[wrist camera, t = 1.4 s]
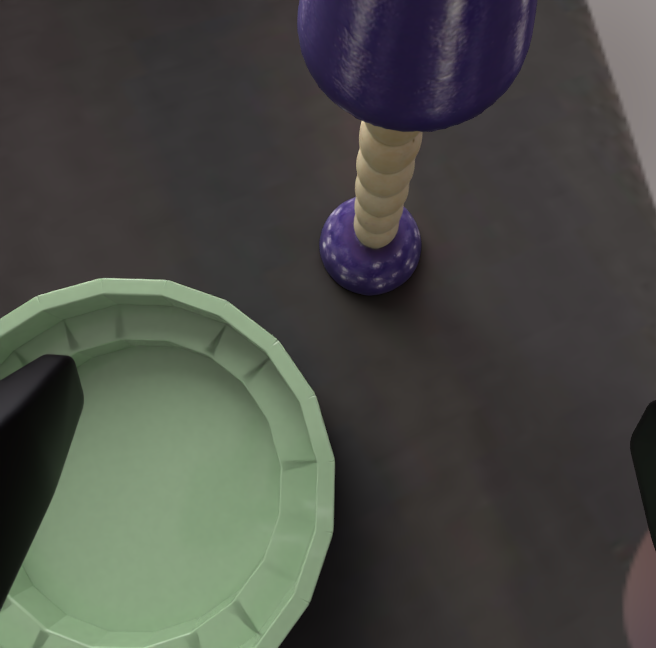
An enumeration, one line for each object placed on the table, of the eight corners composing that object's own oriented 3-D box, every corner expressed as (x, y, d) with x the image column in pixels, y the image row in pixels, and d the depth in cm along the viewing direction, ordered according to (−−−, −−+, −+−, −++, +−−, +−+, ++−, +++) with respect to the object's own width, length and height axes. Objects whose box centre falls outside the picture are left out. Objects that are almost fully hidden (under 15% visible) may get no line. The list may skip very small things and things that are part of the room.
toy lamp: (289, 261, 24) (225, -107, 8) (340, 169, 25) (380, -343, 8) (392, 313, 24) (555, 45, 7) (441, 217, 25) (685, -217, 8)
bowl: (378, 613, 22) (390, 650, 18) (0, 736, 21) (-70, 803, 17) (276, 262, 24) (268, 231, 20) (-66, 358, 23) (-141, 343, 19)
